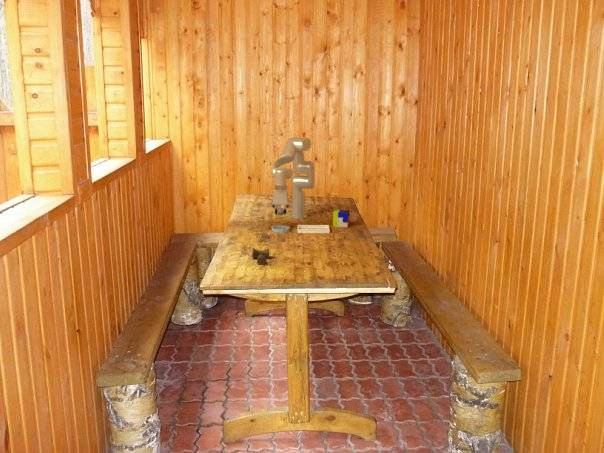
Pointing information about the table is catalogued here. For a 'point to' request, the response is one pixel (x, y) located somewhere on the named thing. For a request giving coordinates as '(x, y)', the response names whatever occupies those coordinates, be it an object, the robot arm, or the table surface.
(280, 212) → the ball
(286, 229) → the bowl
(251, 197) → the table surface
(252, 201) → the table surface
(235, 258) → the table surface
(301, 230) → the white rectangular frame
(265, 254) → the kendama
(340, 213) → the puzzle toy
